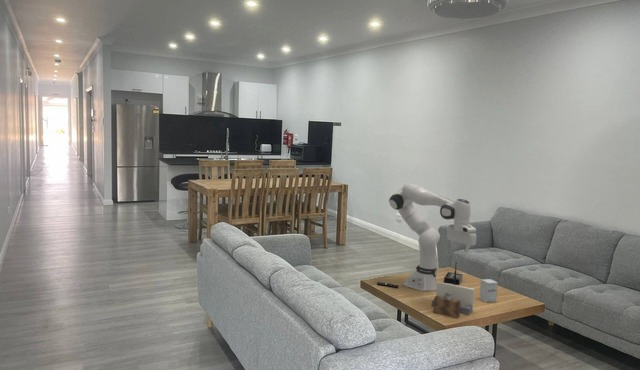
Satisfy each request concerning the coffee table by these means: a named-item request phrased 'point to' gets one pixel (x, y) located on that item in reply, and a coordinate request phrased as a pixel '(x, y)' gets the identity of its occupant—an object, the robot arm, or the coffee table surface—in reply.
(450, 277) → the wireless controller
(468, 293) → the board
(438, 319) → the coffee table surface
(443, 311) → the walnut panel
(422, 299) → the coffee table surface
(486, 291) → the supplement box
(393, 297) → the coffee table surface
